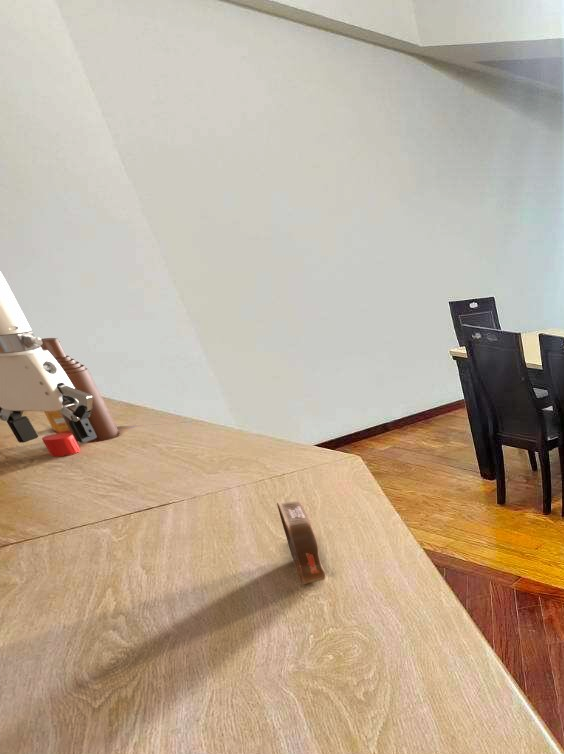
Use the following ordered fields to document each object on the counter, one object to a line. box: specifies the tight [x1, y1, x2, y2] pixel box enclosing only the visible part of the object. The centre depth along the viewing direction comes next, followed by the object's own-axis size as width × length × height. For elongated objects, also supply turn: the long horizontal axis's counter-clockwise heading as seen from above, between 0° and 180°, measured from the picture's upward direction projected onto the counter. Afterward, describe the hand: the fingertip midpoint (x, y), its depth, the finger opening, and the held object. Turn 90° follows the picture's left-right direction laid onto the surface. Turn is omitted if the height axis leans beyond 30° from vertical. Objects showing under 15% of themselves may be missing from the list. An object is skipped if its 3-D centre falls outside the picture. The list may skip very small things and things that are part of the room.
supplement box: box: [43, 411, 72, 434], centre depth 116 cm, size 3×3×10 cm
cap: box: [41, 433, 82, 457], centre depth 109 cm, size 4×4×3 cm
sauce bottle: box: [40, 337, 121, 443], centre depth 113 cm, size 6×6×19 cm
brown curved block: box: [276, 500, 327, 586], centre depth 77 cm, size 15×3×8 cm, turn 40°
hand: (59, 440), depth 108 cm, fingers open, 9 cm apart
